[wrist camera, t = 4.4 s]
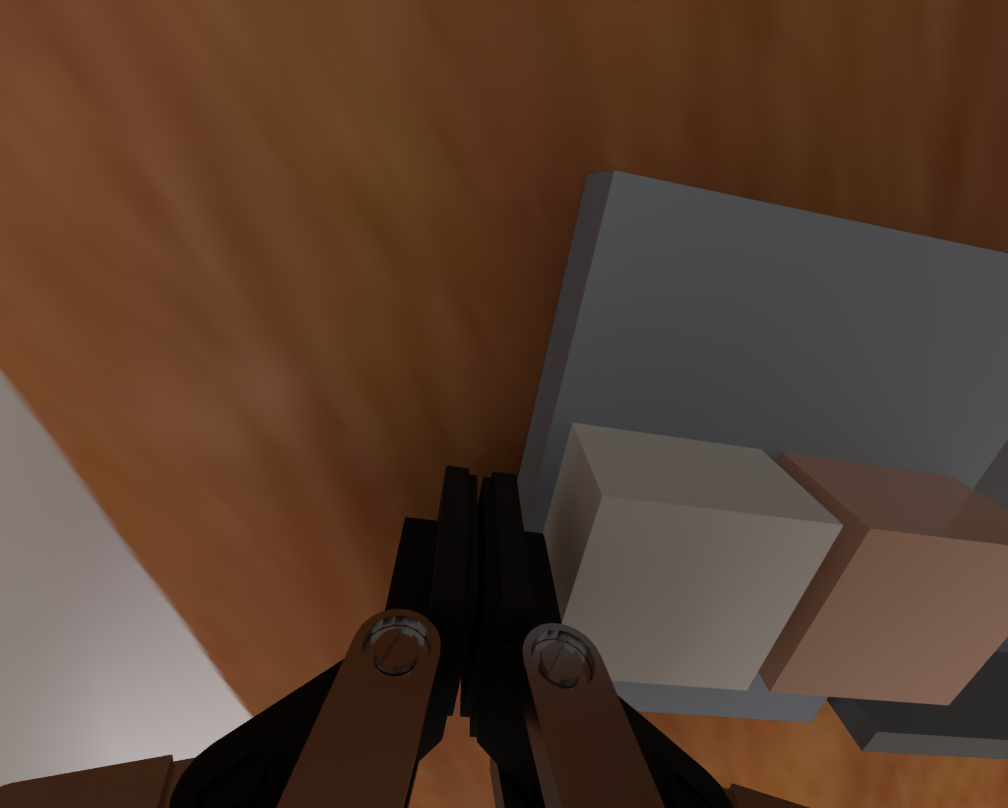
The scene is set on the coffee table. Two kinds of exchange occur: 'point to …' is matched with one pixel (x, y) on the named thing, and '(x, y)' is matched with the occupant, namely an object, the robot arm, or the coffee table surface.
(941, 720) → the box
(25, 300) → the coffee table surface
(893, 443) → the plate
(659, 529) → the tile
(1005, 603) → the tile
